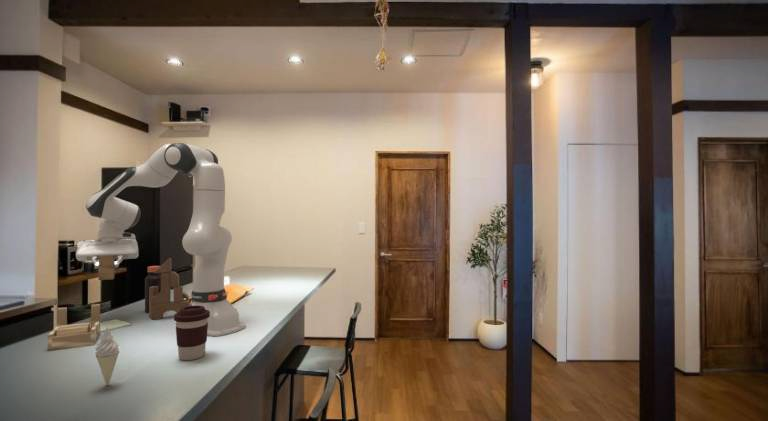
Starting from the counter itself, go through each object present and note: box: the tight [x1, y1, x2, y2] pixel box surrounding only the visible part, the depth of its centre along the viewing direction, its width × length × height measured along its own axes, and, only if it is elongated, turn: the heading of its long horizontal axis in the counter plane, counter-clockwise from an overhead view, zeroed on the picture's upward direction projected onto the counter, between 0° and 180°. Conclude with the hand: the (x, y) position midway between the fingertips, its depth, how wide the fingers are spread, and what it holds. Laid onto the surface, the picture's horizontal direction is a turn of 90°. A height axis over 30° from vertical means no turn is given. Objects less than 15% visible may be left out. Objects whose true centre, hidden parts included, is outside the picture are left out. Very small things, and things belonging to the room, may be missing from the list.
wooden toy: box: [148, 257, 191, 320], centre depth 163 cm, size 16×7×25 cm, turn 111°
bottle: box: [144, 265, 161, 314], centre depth 171 cm, size 7×7×20 cm
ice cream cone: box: [94, 327, 120, 386], centre depth 99 cm, size 5×5×15 cm
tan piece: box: [47, 303, 101, 352], centre depth 131 cm, size 12×12×11 cm
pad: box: [90, 318, 132, 333], centre depth 148 cm, size 12×12×1 cm
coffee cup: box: [173, 305, 210, 361], centre depth 118 cm, size 10×10×15 cm
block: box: [98, 255, 116, 281], centre depth 149 cm, size 4×4×9 cm
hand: (106, 266), depth 148 cm, fingers closed on block, 4 cm apart
